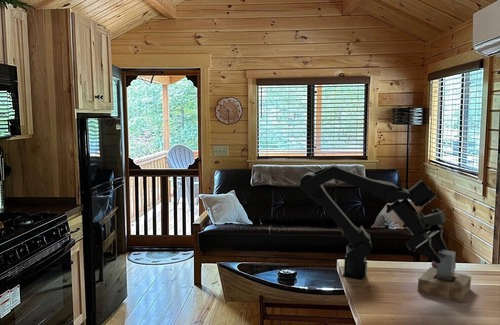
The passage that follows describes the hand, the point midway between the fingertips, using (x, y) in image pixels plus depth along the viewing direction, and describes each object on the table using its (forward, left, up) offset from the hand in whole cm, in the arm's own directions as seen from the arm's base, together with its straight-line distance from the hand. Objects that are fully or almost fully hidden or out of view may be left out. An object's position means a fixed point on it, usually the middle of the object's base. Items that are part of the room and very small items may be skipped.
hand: (444, 258), depth 132 cm
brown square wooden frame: (+1, 0, -10) cm, 10 cm away
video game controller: (-1, +16, -10) cm, 19 cm away
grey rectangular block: (+1, 0, -10) cm, 10 cm away
